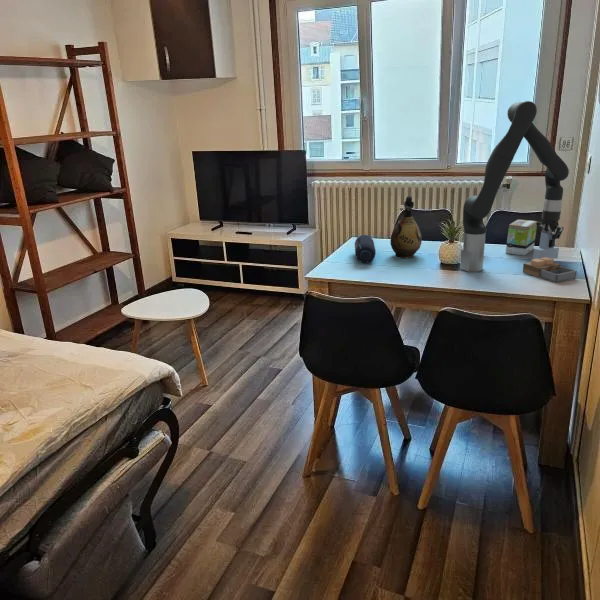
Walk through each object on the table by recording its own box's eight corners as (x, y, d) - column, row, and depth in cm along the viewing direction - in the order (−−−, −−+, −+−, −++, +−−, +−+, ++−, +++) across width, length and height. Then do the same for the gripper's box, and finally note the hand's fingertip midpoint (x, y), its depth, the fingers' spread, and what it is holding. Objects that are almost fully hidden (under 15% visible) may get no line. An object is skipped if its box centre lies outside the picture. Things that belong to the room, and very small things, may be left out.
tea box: (525, 256, 259) (529, 226, 254) (505, 253, 265) (507, 224, 260) (534, 248, 270) (537, 220, 265) (514, 246, 276) (517, 218, 271)
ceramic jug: (421, 260, 260) (424, 199, 250) (390, 260, 263) (391, 199, 252) (420, 251, 276) (422, 193, 265) (390, 251, 278) (391, 193, 268)
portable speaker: (354, 251, 281) (354, 233, 277) (373, 251, 280) (373, 232, 276) (355, 265, 257) (355, 245, 254) (376, 265, 256) (376, 245, 253)
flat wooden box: (538, 277, 229) (539, 268, 227) (522, 271, 236) (523, 263, 235) (559, 273, 233) (560, 264, 231) (543, 267, 241) (544, 259, 239)
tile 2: (546, 264, 232) (546, 260, 231) (539, 262, 235) (539, 258, 234) (553, 263, 233) (553, 259, 232) (545, 261, 236) (546, 256, 236)
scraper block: (539, 261, 242) (542, 235, 238) (532, 258, 245) (536, 233, 241) (557, 257, 246) (561, 232, 242) (550, 255, 249) (554, 230, 245)
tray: (556, 282, 221) (557, 274, 220) (540, 277, 228) (541, 269, 227) (575, 278, 225) (576, 270, 224) (559, 273, 232) (560, 265, 231)
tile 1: (537, 266, 230) (538, 262, 229) (530, 264, 233) (530, 259, 233) (544, 265, 231) (545, 260, 231) (537, 262, 235) (537, 258, 234)
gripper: (533, 207, 243) (528, 244, 248) (558, 212, 230) (553, 250, 236) (545, 206, 245) (540, 242, 251) (571, 211, 233) (565, 248, 239)
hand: (546, 246), depth 244 cm, fingers closed on scraper block, 4 cm apart
